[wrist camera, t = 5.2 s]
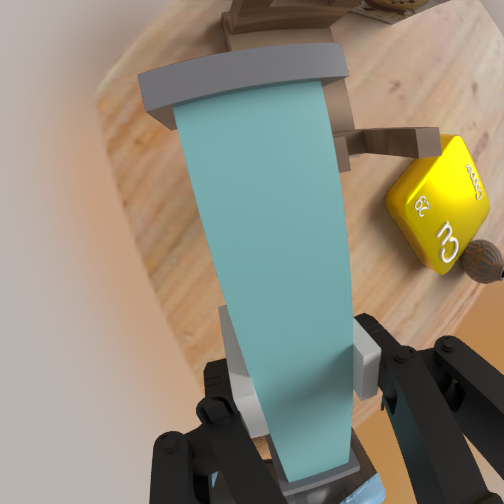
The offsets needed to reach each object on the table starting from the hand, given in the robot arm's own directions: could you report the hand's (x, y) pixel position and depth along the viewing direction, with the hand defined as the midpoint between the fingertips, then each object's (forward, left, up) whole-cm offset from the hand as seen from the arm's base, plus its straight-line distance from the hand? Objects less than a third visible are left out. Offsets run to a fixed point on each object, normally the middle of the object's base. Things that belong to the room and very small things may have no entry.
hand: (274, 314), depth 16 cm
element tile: (-3, -28, -18) cm, 33 cm away
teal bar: (0, 0, 0) cm, 1 cm away
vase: (-14, -37, -17) cm, 43 cm away
